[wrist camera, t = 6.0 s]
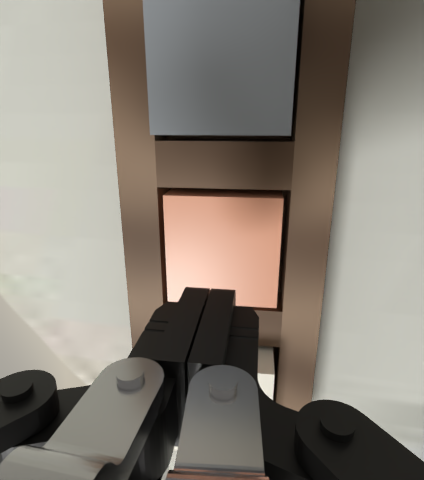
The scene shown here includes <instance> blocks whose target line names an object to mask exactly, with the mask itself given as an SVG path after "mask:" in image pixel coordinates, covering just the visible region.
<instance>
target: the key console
mask: <svg viewBox="0 0 424 480" xmlns="http://www.w3.org/2000/svg"><path fill="white" fill-rule="evenodd" d="M355 4H356V0H300V8H299V22H298V37H297V52H296V67H295V81H294V96H293V111H292V126H291V136H247V135H150V126H149V108H148V89H147V71H146V53H145V34H144V16H143V0H103V10H104V22H105V33H106V45H107V57H108V68H109V80H110V92H111V103H112V115H113V127H114V138H115V150H116V162H117V173H118V185H119V197H120V208H121V220H122V232H123V243H124V255H125V267H126V278H127V290H128V302H129V313H130V325H131V337H132V348H134V346H135V344H136V342H137V341H138V339H139V337H140V336H141V334H142V332H143V331H144V329H145V327H146V325H147V323H148V322H149V320H150V318H151V317H152V315H153V313H154V311H155V310H156V309H157V308H159V307H160V306H162V305H163V304H165V303H166V302H169V301H168V297H167V275H166V253H165V231H164V209H163V195H164V194H165V193H167V192H168V191H169V190H170V189H172V188H212V189H256V190H281V191H282V194H283V198H284V202H283V217H282V233H281V248H280V263H279V279H278V294H277V308H265V307H252V308H253V309H254V311H255V312H256V314H257V315H258V316H259V339H258V340H259V341H258V346H269V347H273V355H274V373H275V376H274V391H273V401H275V402H276V403H278V404H280V405H282V406H285V407H287V408H290V409H293V410H295V411H298V412H299V410H300V409H301V408H302V407H303V406H304V405H306V404H307V403H310V402H311V399H312V390H313V381H314V372H315V363H316V354H317V345H318V336H319V327H320V318H321V309H322V300H323V291H324V283H325V274H326V265H327V256H328V247H329V238H330V229H331V220H332V211H333V202H334V193H335V184H336V175H337V166H338V157H339V148H340V139H341V130H342V121H343V112H344V103H345V94H346V85H347V76H348V67H349V58H350V49H351V40H352V31H353V22H354V13H355ZM239 307H249V306H239Z"/></svg>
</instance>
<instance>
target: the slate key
mask: <svg viewBox="0 0 424 480" xmlns="http://www.w3.org/2000/svg"><path fill="white" fill-rule="evenodd" d="M299 8H300V0H143V16H144V34H145V53H146V71H147V89H148V108H149V126H150V135H247V136H291V126H292V111H293V96H294V81H295V67H296V52H297V37H298V22H299Z"/></svg>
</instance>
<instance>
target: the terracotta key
mask: <svg viewBox="0 0 424 480" xmlns="http://www.w3.org/2000/svg"><path fill="white" fill-rule="evenodd" d="M283 202H284V198H283V194H282V191H281V190H256V189H212V188H172V189H170V190H169V191H168V192H167V193H165V194H164V195H163V209H164V231H165V253H166V275H167V297H168V301H169V302H178V301H179V299H180V297H181V295H182V293H183V291H184V289H185V287H196V288H210V290H211V288H214V289H230V290H236V306H249V307H265V308H277V294H278V279H279V263H280V248H281V233H282V217H283Z"/></svg>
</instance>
